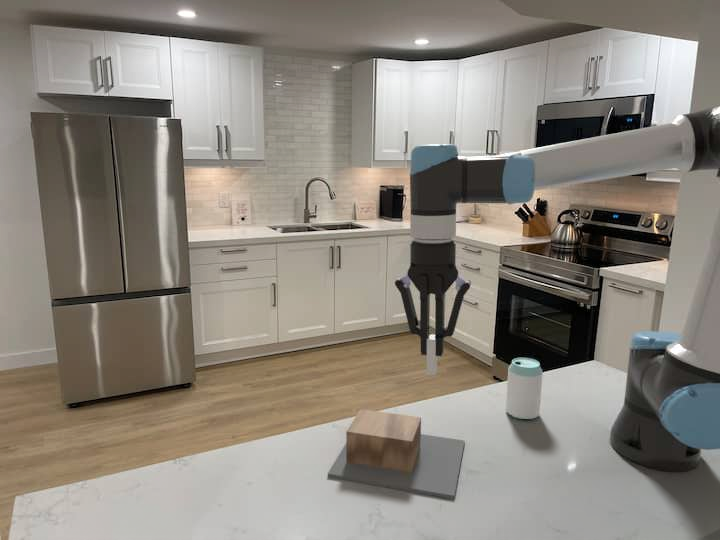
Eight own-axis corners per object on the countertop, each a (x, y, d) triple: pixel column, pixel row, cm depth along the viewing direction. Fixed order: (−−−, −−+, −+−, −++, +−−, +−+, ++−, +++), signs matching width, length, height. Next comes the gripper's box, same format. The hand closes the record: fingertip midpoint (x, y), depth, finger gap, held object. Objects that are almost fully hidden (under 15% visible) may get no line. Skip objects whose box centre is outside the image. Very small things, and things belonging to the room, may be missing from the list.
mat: (464, 443, 103) (464, 440, 103) (454, 499, 86) (454, 495, 86) (357, 427, 109) (357, 424, 109) (327, 476, 92) (327, 473, 92)
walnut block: (421, 417, 100) (360, 409, 103) (412, 441, 91) (346, 431, 94) (420, 446, 101) (360, 437, 104) (411, 472, 92) (346, 461, 96)
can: (521, 424, 110) (525, 371, 108) (498, 410, 116) (501, 359, 114) (546, 417, 114) (550, 364, 111) (522, 403, 120) (525, 354, 117)
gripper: (474, 237, 89) (471, 367, 94) (399, 235, 93) (400, 361, 98) (470, 243, 82) (467, 384, 87) (389, 241, 86) (391, 377, 91)
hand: (432, 372), depth 92 cm, fingers closed
